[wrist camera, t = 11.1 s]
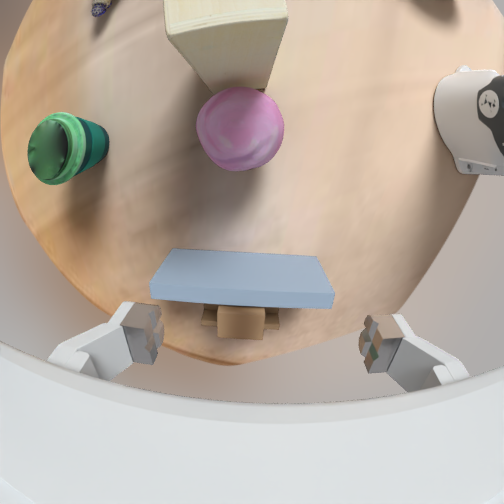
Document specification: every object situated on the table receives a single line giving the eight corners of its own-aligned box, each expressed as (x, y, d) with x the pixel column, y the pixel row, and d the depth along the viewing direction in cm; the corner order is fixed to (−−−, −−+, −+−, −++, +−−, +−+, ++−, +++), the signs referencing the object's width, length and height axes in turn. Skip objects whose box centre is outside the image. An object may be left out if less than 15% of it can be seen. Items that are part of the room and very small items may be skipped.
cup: (83, 113, 29) (28, 111, 18) (129, 118, 30) (79, 113, 19) (73, 167, 32) (19, 182, 21) (117, 176, 33) (67, 194, 22)
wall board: (316, 256, 38) (335, 293, 28) (308, 303, 41) (321, 347, 31) (172, 248, 37) (149, 282, 28) (176, 296, 40) (157, 338, 31)
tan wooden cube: (263, 283, 35) (265, 315, 28) (260, 308, 36) (262, 343, 30) (223, 281, 35) (217, 312, 28) (223, 306, 36) (217, 340, 30)
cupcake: (196, 115, 31) (175, 104, 21) (261, 87, 29) (264, 65, 20) (225, 177, 34) (215, 190, 24) (289, 150, 32) (304, 152, 23)
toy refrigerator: (273, 89, 29) (302, 18, 10) (214, 97, 30) (161, 38, 10) (264, 35, 26) (276, -67, 7) (206, 43, 27) (157, -49, 7)
